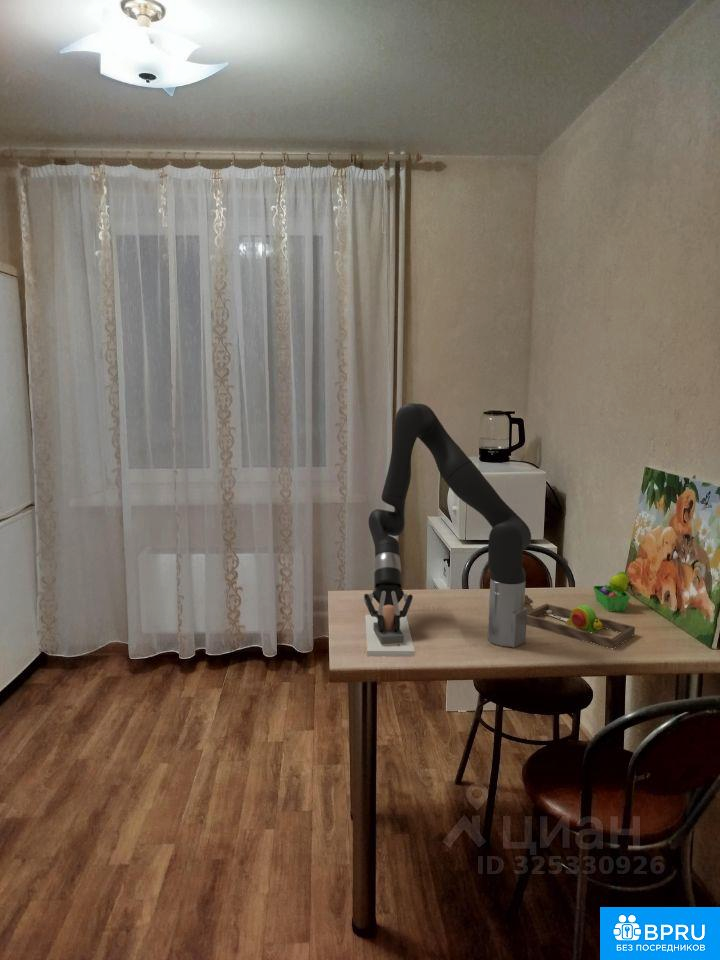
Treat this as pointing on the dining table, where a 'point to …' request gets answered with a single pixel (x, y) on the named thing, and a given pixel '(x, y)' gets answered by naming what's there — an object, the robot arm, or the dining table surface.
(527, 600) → the wooden fragment
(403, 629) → the marked board
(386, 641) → the sanding block
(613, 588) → the fruit basket
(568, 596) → the dining table surface
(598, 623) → the toy snail
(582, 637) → the wooden tray
